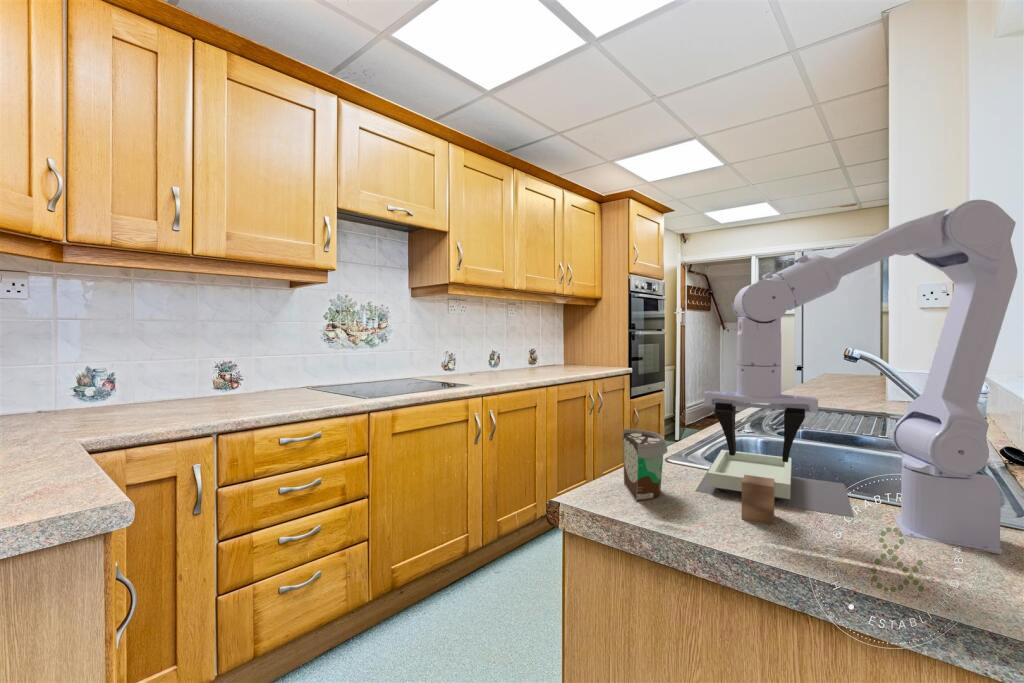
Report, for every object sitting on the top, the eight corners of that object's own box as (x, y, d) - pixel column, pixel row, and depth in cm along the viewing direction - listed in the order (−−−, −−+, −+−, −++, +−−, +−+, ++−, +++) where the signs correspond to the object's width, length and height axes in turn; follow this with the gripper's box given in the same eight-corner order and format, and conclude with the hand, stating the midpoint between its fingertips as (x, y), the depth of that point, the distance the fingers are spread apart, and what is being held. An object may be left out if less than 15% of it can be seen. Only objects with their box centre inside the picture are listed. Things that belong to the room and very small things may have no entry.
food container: (678, 507, 73) (678, 445, 73) (639, 507, 74) (638, 445, 73) (655, 481, 86) (655, 428, 86) (622, 481, 86) (622, 428, 86)
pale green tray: (791, 476, 86) (791, 457, 86) (790, 506, 72) (790, 484, 72) (721, 466, 93) (721, 449, 93) (707, 492, 78) (707, 472, 78)
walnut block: (774, 518, 69) (774, 478, 69) (772, 528, 65) (773, 486, 65) (744, 513, 71) (744, 474, 71) (741, 522, 68) (741, 482, 67)
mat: (843, 486, 82) (844, 483, 82) (853, 520, 68) (853, 517, 68) (710, 467, 94) (710, 465, 94) (695, 493, 79) (695, 491, 79)
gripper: (817, 364, 67) (816, 457, 68) (709, 361, 75) (709, 445, 75) (819, 368, 61) (818, 470, 62) (702, 364, 69) (702, 455, 69)
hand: (758, 457), depth 68 cm, fingers open, 6 cm apart
